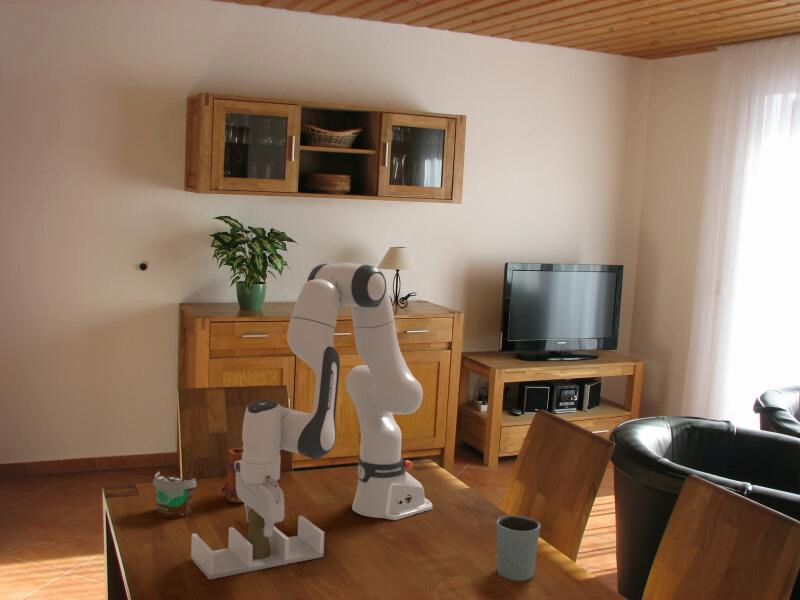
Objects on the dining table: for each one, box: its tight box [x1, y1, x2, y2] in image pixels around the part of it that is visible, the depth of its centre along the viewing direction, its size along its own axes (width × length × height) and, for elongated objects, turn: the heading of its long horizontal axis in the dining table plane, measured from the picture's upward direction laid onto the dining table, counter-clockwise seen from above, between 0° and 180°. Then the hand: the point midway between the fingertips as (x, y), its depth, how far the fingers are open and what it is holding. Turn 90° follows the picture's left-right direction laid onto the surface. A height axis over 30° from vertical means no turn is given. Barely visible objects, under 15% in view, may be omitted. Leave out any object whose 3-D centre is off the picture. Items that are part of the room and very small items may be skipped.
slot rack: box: [190, 515, 325, 580], centre depth 204 cm, size 28×12×6 cm, turn 122°
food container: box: [152, 471, 197, 519], centre depth 228 cm, size 12×6×10 cm, turn 68°
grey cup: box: [496, 515, 541, 582], centre depth 202 cm, size 10×10×12 cm
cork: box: [246, 508, 271, 559], centre depth 203 cm, size 6×6×11 cm
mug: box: [221, 444, 244, 504], centre depth 243 cm, size 15×8×15 cm, turn 168°
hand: (258, 528), depth 203 cm, fingers open, 8 cm apart
